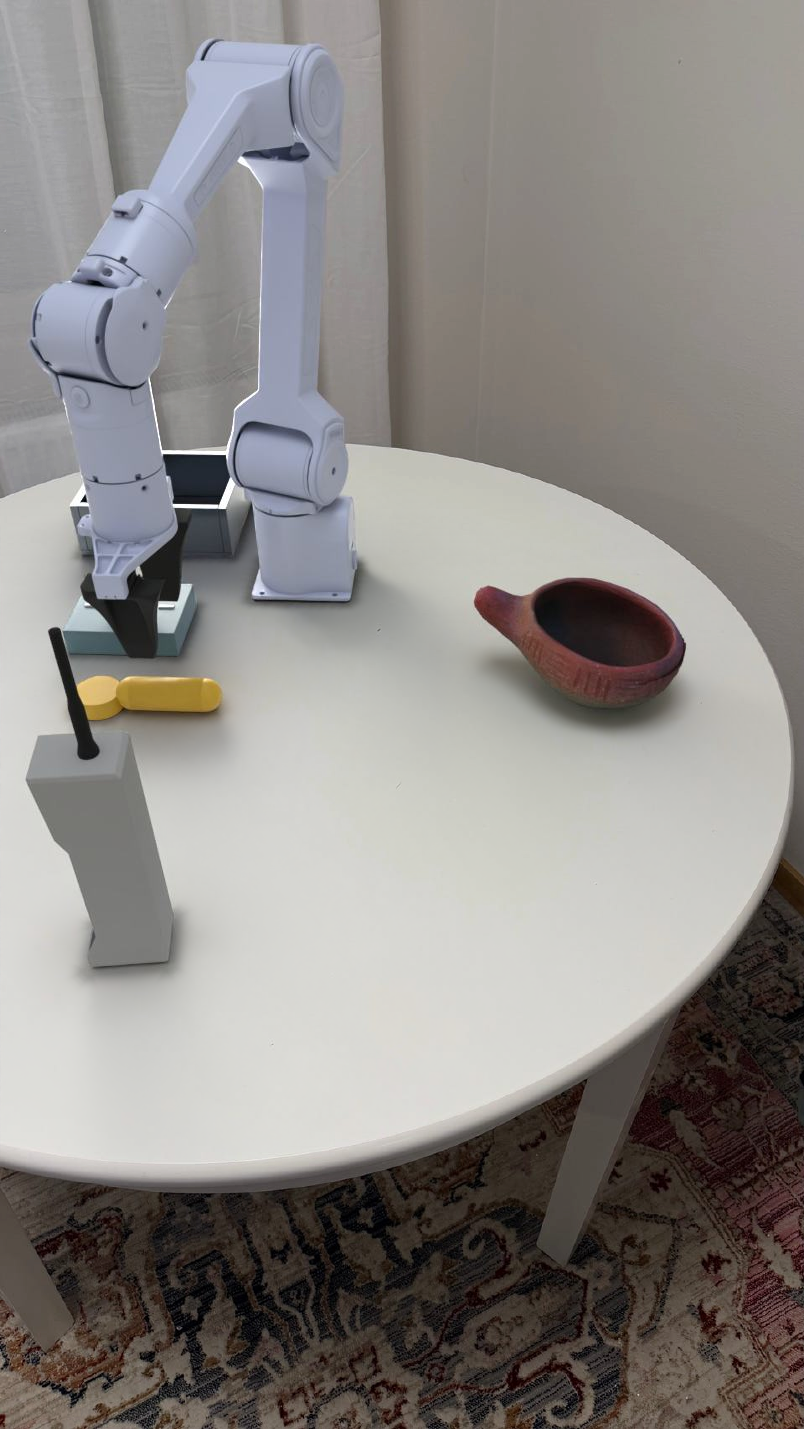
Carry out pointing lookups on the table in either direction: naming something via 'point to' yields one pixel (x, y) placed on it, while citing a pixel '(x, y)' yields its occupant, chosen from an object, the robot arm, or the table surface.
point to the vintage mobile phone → (103, 831)
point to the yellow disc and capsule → (147, 695)
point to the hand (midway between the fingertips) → (154, 626)
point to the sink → (194, 503)
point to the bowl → (589, 639)
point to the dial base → (97, 637)
